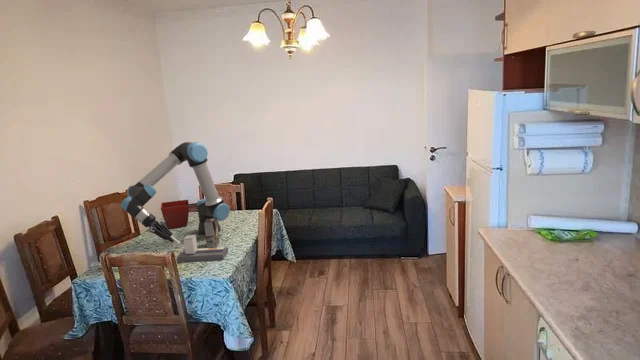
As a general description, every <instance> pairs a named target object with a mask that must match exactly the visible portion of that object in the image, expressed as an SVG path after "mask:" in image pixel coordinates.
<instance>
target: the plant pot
mask: <svg viewBox="0 0 640 360" xmlns="http://www.w3.org/2000/svg"><path fill="white" fill-rule="evenodd" d="M160 210H161V214H162V218H163V220H164V223H165V226H166V227H167V228H168V229H169V230H171V229H176V228H185V227H187V226H188V223H189V215H190V202H189V199H182V200H173V201H166V202H165V201H164V202H161V203H160Z"/></svg>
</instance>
